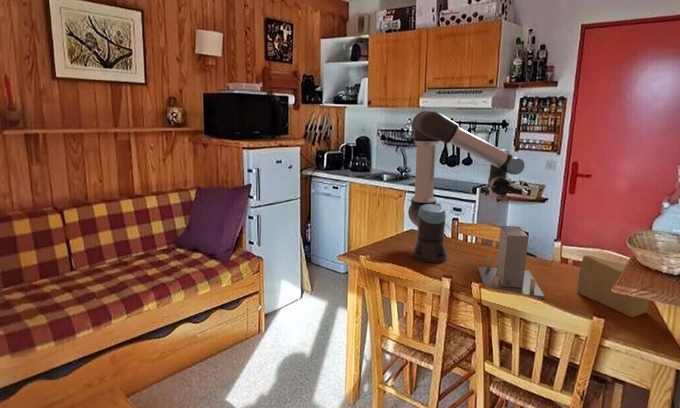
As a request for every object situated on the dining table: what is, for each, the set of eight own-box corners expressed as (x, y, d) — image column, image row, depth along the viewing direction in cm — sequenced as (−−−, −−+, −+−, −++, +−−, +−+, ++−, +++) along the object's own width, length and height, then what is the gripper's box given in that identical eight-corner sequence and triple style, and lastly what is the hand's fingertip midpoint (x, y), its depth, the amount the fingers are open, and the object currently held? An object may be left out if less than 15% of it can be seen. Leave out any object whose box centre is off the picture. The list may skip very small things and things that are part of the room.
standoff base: (485, 294, 165) (487, 278, 164) (478, 270, 190) (479, 255, 189) (544, 299, 162) (546, 282, 160) (528, 273, 187) (530, 258, 185)
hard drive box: (523, 288, 168) (528, 236, 163) (501, 287, 169) (506, 235, 165) (515, 273, 182) (520, 225, 178) (495, 272, 184) (499, 224, 180)
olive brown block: (569, 294, 167) (574, 255, 164) (585, 289, 172) (590, 251, 168) (631, 319, 148) (638, 275, 145) (647, 312, 153) (655, 270, 149)
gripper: (528, 195, 204) (539, 205, 184) (471, 192, 209) (476, 202, 188) (530, 178, 203) (541, 187, 182) (472, 176, 207) (477, 184, 187)
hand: (508, 194), depth 185 cm, fingers open, 13 cm apart
